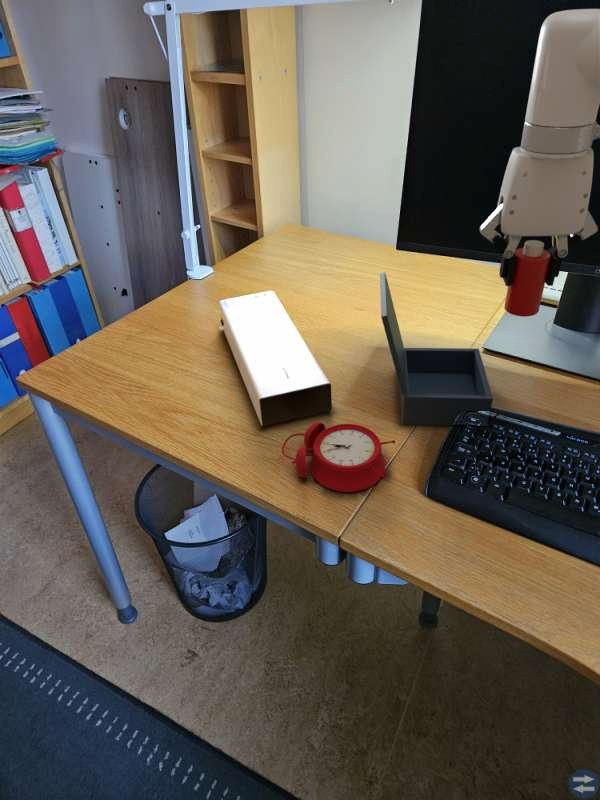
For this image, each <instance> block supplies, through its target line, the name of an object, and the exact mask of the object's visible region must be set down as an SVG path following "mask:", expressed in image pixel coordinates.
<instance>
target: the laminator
mask: <svg viewBox="0 0 600 800" xmlns="http://www.w3.org/2000/svg"><path fill="white" fill-rule="evenodd" d="M218 307H219V316H220V324H221V325H220V326H218V329H219V331H223V333H224V335H225V338H226V340H227V343H228V345H229V349H230V351H231V353H232V354H233V358H234V361H235V363H236V365H237V368H238V370H239V374H240V376H241V379H242V381H243V383H244V386H245V389H246V391H247V395H248V396H249V399H250V401H251V403H252V407H253V409H254V411H255V414H256V416H257V419H258V422H259V424H260V426H261V428H264V427H266V426H270V425H273V424H279V423H282V422H287V421H291V420H294V419H299V418H303V417H308V416H313V415H317V414H321V413H325V412H331V411H332V408H333V407H332V406H333V405H332V384H331V382H330V380H329V379H328V377H327V375H326V374H325V372H324V371H323V369H322V368H321V366H320V364H319V362H317V359H316V357H315V356H314V354H313V352H312V351H311V350H310V348H309V346H308V344H307V343H306V341H305V340H304V338H303V336H302V335H301V333H300V331H299V330H298V328H297V327H296V325H295V324H294V321H293V320H292V319H291V317H290V315H289V313H288V312H287V310H286V308H285V307H284V306H283V304H282V302H281V300H280V299H279V297H278V296H277V294H276V292H275V291H274V290H273V289H271V290H266V291H259V292H255V293H249V294H244V295H239V296H233V297H228V298H222V299H218Z"/></svg>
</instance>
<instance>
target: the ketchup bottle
mask: <svg viewBox="0 0 600 800" xmlns="http://www.w3.org/2000/svg"><path fill="white" fill-rule="evenodd" d="M544 248H545V242H543V241H541V240H536V239H531V240H526V241H525V242H524V246H523V247H520V248H516V250H515V257H516V259H517V262H516V267H515V272H514V278H513V283H512V285H511V286H507V289H506V295H505V301H504V310H505V311H506V312H507V313H508V314H510V315H512V316H515V317H524V318H527V317H532V316H536V315H537V314H538V313H539V311H540V307H541V302H542V298H543V293H544V289H545V285H546V283H545V281H546V276H547V272H548V267H549V263H550V258H551V254H550V253H549V252H548V251H549V250H546V249H544Z"/></svg>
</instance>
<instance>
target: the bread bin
mask: <svg viewBox="0 0 600 800" xmlns="http://www.w3.org/2000/svg"><path fill="white" fill-rule="evenodd" d="M403 348H404V360H405V372H406V384H407V394H403V395H402V393H401V389H400V388H399V390H400V391H399V392H400V409H401V423H402V425H405V426H406V425H409V426H412V425H413V426H445V427H446V426H447V427H449V426H451V427H452V425H453V424H454V422H455V419H456V418H457V416H458V415H459V414H460V413H461V412H464V411H465V412H466V411H490V412H491V411H492V405H493V401H494V398H493V394H492V391H491V387H490V383H489V380H488V376H487V373H486V370H485V369H486V368H485V366H484V363H483V359H482V355H481V352H480V348H466V347H465V348H461V347H459V348H458V347H456V348H455V347H444V348H443V347H403Z"/></svg>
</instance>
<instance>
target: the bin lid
mask: <svg viewBox="0 0 600 800" xmlns="http://www.w3.org/2000/svg"><path fill="white" fill-rule="evenodd" d="M379 278H380V279H379V282H380V310H381V311H380V317H381V320H382V321H381V322H382V325H383V329H384V332H385V336H386V340H387V343H388V348H389V351H390V355H391V359H392V363H393V366H394V371H395V374H396V378H397V381H398V385H399V390H400V389H401V393H402V395H403V394H407V384H406V372H405V360H404V348H405V347H404V342H403V338H402V335H401V331H400V327H399V321H398V319H397V314H396V309H395V306H394V302H393V298H392V294H391V291H390V290H391V289H390V286H389V282H388V278H387V274H386V272H380V273H379Z"/></svg>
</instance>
